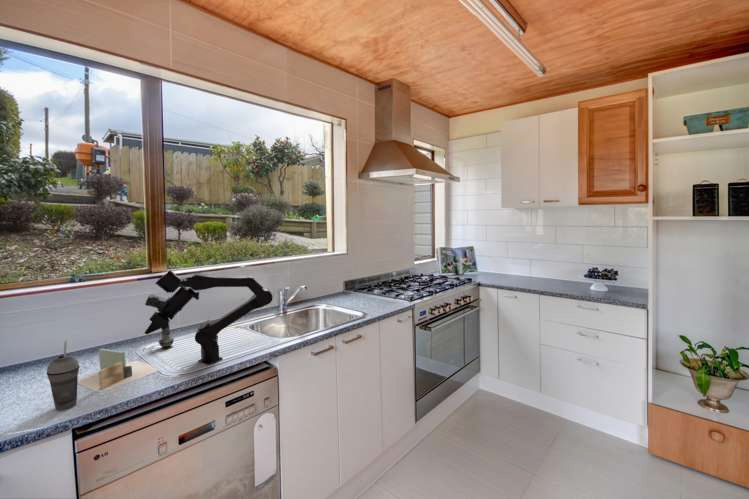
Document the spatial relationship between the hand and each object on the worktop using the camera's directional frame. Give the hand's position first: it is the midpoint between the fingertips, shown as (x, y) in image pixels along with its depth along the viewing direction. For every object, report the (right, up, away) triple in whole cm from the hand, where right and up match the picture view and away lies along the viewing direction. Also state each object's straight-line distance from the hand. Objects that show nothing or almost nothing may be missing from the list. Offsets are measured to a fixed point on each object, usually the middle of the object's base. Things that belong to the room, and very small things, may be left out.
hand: (145, 333), depth 130 cm
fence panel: (-10, -13, -3) cm, 17 cm away
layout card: (-6, -14, -4) cm, 16 cm away
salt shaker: (-5, -12, +22) cm, 26 cm away
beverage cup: (-7, -16, -26) cm, 31 cm away
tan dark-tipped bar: (-4, -14, -10) cm, 17 cm away
